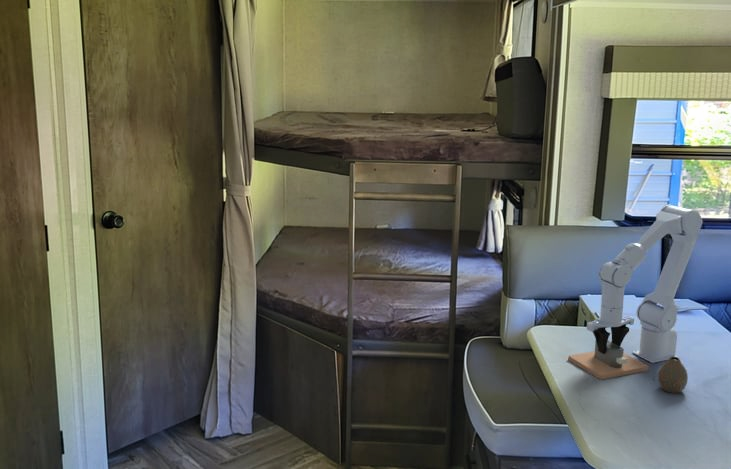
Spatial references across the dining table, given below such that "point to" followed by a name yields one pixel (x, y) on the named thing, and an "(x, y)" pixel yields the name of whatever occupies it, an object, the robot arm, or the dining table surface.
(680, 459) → the dining table surface
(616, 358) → the plug
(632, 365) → the mat
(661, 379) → the vase
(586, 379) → the dining table surface
